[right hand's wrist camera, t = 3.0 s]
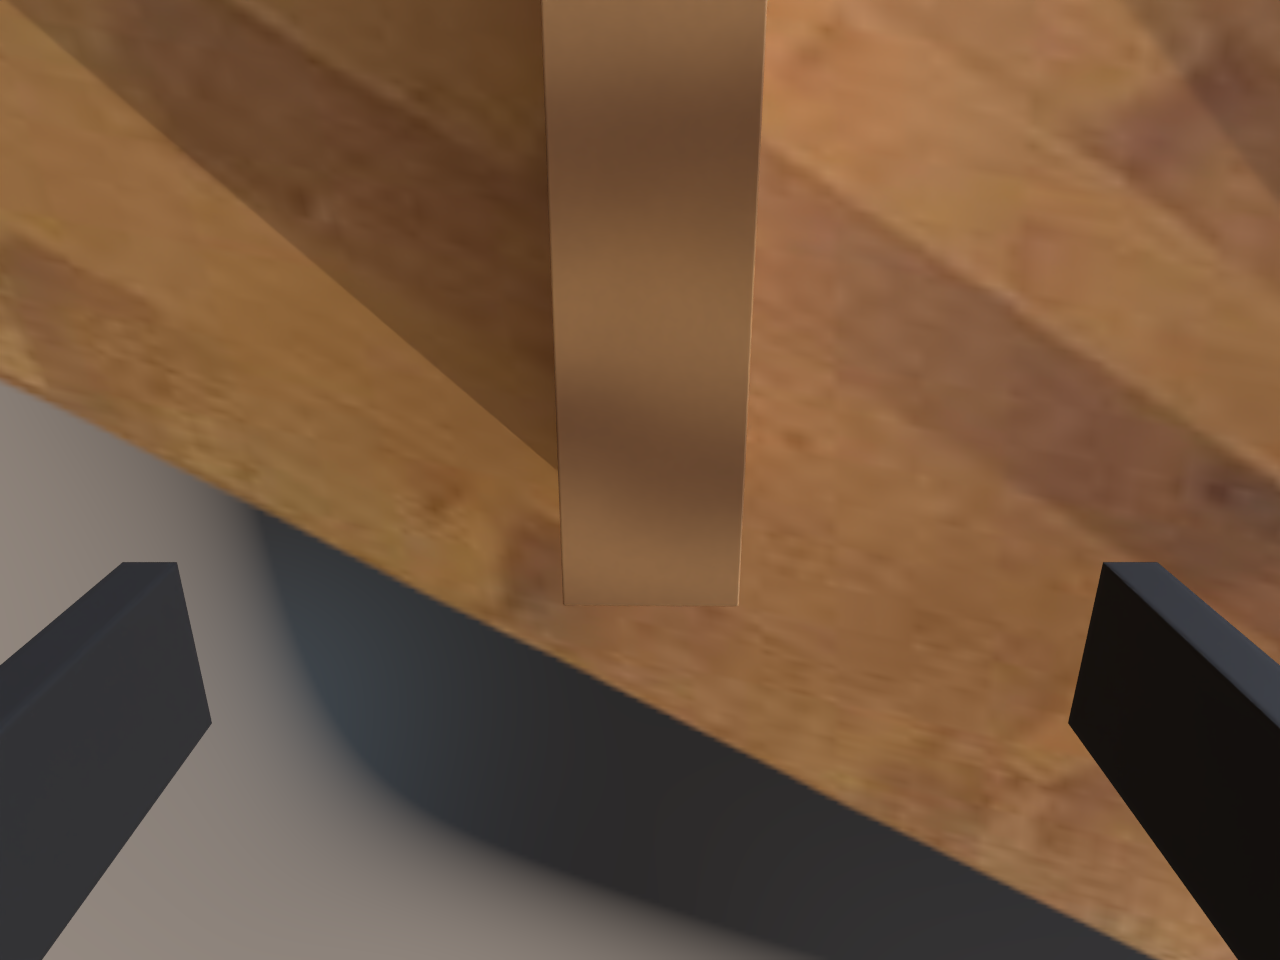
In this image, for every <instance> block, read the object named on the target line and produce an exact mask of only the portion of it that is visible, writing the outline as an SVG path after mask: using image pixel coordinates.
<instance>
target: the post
mask: <svg viewBox="0 0 1280 960" xmlns="http://www.w3.org/2000/svg"><path fill="white" fill-rule="evenodd" d="M541 19H542V46H543V73H544V100H545V127H546V155H547V182H548V209H549V236H550V263H551V290H552V317H553V344H554V371H555V398H556V425H557V452H558V479H559V506H560V533H561V560H562V587H563V605H565V606H738V605H739V589H740V568H741V546H742V525H743V504H744V483H745V462H746V441H747V420H748V399H749V378H750V357H751V336H752V315H753V294H754V273H755V252H756V231H757V210H758V189H759V168H760V146H761V125H762V104H763V83H764V62H765V41H766V20H767V0H541Z"/></svg>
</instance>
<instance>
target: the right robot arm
mask: <svg viewBox="0 0 1280 960" xmlns="http://www.w3.org/2000/svg"><path fill="white" fill-rule="evenodd" d="M211 724H212V722H211V717H210V712H209V708H208V703H207V699H206V694H205V690H204V685H203V680H202V676H201V671H200V667H199V662H198V657H197V653H196V648H195V644H194V639H193V634H192V630H191V625H190V621H189V616H188V611H187V607H186V602H185V598H184V593H183V588H182V584H181V579H180V575H179V570H178V565H177V562H123V563H121V564H120V565H119V566H118V567H117V568H115V569H114V570H113V571H112V572H111V573H109V574H108V575H107V576H106V577H105V578H104V579H102V580H101V581H100V582H99V583H98V584H96V585H95V586H94V587H93V588H92V589H90V590H89V591H88V592H87V593H86V594H85V595H83V596H82V597H81V598H80V599H79V600H77V601H76V602H75V603H74V604H73V605H72V606H70V607H69V608H68V609H67V610H66V611H64V612H63V613H62V614H61V615H60V616H58V617H57V618H56V619H55V620H54V621H53V622H51V623H50V624H49V625H48V626H47V627H45V628H44V629H43V630H42V631H41V632H39V633H38V634H37V635H36V636H35V637H33V638H32V639H31V640H30V641H29V642H28V643H26V644H25V645H24V646H23V647H22V648H20V649H19V650H18V651H17V652H16V653H14V654H13V655H12V656H11V657H10V658H8V659H7V660H6V661H5V662H4V663H3V664H1V665H0V960H42V959H43V957H44V956H45V955H46V953H47V952H48V951H49V949H50V948H51V946H52V945H53V944H54V942H55V941H56V939H57V938H58V937H59V935H60V934H61V932H62V931H63V930H64V928H65V927H66V925H67V924H68V923H69V921H70V920H71V918H72V917H73V916H74V914H75V913H76V912H77V910H78V909H79V907H80V906H81V905H82V903H83V902H84V900H85V899H86V898H87V896H88V895H89V893H90V892H91V891H92V889H93V888H94V887H95V885H96V884H97V882H98V881H99V880H100V878H101V877H102V875H103V874H104V873H105V871H106V870H107V868H108V867H109V866H110V864H111V863H112V861H113V860H114V859H115V857H116V856H117V854H118V853H119V852H120V850H121V849H122V847H123V846H124V845H125V843H126V842H127V841H128V839H129V838H130V836H131V835H132V834H133V832H134V831H135V829H136V828H137V827H138V825H139V824H140V822H141V821H142V820H143V818H144V817H145V815H146V814H147V813H148V811H149V810H150V809H151V807H152V806H153V804H154V803H155V802H156V800H157V799H158V797H159V796H160V795H161V793H162V792H163V790H164V789H165V788H166V786H167V785H168V783H169V782H170V781H171V779H172V778H173V776H174V775H175V774H176V772H177V771H178V770H179V768H180V767H181V765H182V764H183V763H184V761H185V760H186V758H187V757H188V756H189V754H190V753H191V751H192V750H193V749H194V747H195V746H196V744H197V743H198V742H199V740H200V739H201V737H202V736H203V735H204V733H205V732H206V730H207V729H208V728H209V726H210V725H211ZM1068 724H1069V725H1070V726H1071V728H1072V729H1073V731H1074V732H1075V733H1076V735H1077V736H1078V738H1079V739H1080V740H1081V742H1082V743H1083V744H1084V746H1085V747H1086V749H1087V750H1088V751H1089V753H1090V754H1091V756H1092V757H1093V758H1094V760H1095V761H1096V763H1097V764H1098V765H1099V767H1100V768H1101V770H1102V771H1103V772H1104V774H1105V775H1106V776H1107V778H1108V779H1109V781H1110V782H1111V783H1112V785H1113V786H1114V788H1115V789H1116V790H1117V792H1118V793H1119V795H1120V796H1121V797H1122V799H1123V800H1124V802H1125V803H1126V804H1127V806H1128V807H1129V809H1130V810H1131V811H1132V813H1133V814H1134V815H1135V817H1136V818H1137V820H1138V821H1139V822H1140V824H1141V825H1142V827H1143V828H1144V829H1145V831H1146V832H1147V834H1148V835H1149V836H1150V838H1151V839H1152V841H1153V842H1154V843H1155V845H1156V846H1157V848H1158V849H1159V850H1160V852H1161V853H1162V854H1163V856H1164V857H1165V859H1166V860H1167V861H1168V863H1169V864H1170V866H1171V867H1172V868H1173V870H1174V871H1175V873H1176V874H1177V875H1178V877H1179V878H1180V880H1181V881H1182V882H1183V884H1184V885H1185V887H1186V888H1187V889H1188V891H1189V892H1190V893H1191V895H1192V896H1193V898H1194V899H1195V900H1196V902H1197V903H1198V905H1199V906H1200V907H1201V909H1202V910H1203V912H1204V913H1205V914H1206V916H1207V917H1208V919H1209V920H1210V921H1211V923H1212V924H1213V925H1214V927H1215V928H1216V930H1217V931H1218V932H1219V934H1220V935H1221V937H1222V938H1223V939H1224V941H1225V942H1226V944H1227V945H1228V946H1229V948H1230V949H1231V951H1232V952H1233V953H1234V955H1235V956H1236V958H1237V959H1238V960H1280V665H1279V664H1277V663H1276V662H1275V661H1274V660H1273V659H1271V658H1270V657H1269V656H1268V655H1267V654H1266V653H1264V652H1263V651H1262V650H1261V649H1260V648H1258V647H1257V646H1256V645H1255V644H1254V643H1252V642H1251V641H1250V640H1249V639H1248V638H1247V637H1245V636H1244V635H1243V634H1242V633H1241V632H1239V631H1238V630H1237V629H1236V628H1235V627H1233V626H1232V625H1231V624H1230V623H1229V622H1228V621H1226V620H1225V619H1224V618H1223V617H1222V616H1220V615H1219V614H1218V613H1217V612H1216V611H1214V610H1213V609H1212V608H1211V607H1210V606H1209V605H1207V604H1206V603H1205V602H1204V601H1203V600H1201V599H1200V598H1199V597H1198V596H1197V595H1195V594H1194V593H1193V592H1192V591H1191V590H1190V589H1188V588H1187V587H1186V586H1185V585H1184V584H1182V583H1181V582H1180V581H1179V580H1178V579H1176V578H1175V577H1174V576H1173V575H1172V574H1171V573H1169V572H1168V571H1167V570H1166V569H1165V568H1163V567H1162V566H1161V565H1160V564H1159V563H1157V562H1103V565H1102V570H1101V575H1100V579H1099V584H1098V588H1097V593H1096V598H1095V602H1094V607H1093V611H1092V616H1091V621H1090V625H1089V630H1088V634H1087V639H1086V644H1085V648H1084V653H1083V657H1082V662H1081V667H1080V671H1079V676H1078V680H1077V685H1076V689H1075V694H1074V699H1073V703H1072V708H1071V712H1070V717H1069V722H1068Z"/></svg>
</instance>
